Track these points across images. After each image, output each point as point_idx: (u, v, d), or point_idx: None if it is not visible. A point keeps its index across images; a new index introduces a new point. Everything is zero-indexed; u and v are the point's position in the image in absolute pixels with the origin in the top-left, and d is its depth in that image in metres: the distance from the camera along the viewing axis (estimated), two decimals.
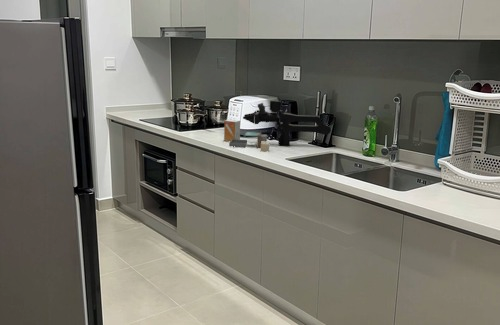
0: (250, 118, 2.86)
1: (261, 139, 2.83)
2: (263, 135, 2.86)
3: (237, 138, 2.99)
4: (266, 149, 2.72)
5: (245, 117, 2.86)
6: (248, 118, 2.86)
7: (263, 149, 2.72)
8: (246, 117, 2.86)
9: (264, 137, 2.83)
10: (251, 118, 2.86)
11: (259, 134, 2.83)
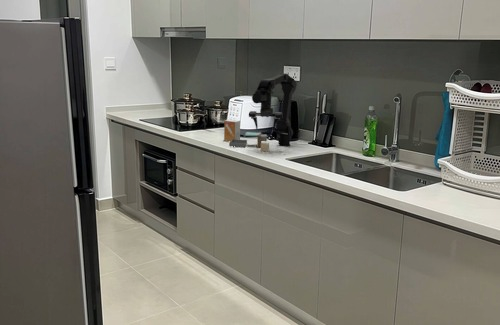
0: (275, 122, 2.71)
1: (261, 139, 2.83)
2: (263, 135, 2.86)
3: (237, 138, 2.99)
4: (266, 149, 2.72)
5: (274, 127, 2.71)
6: (275, 124, 2.71)
7: (263, 149, 2.72)
8: (274, 126, 2.71)
9: (264, 137, 2.83)
10: None
11: (259, 134, 2.83)
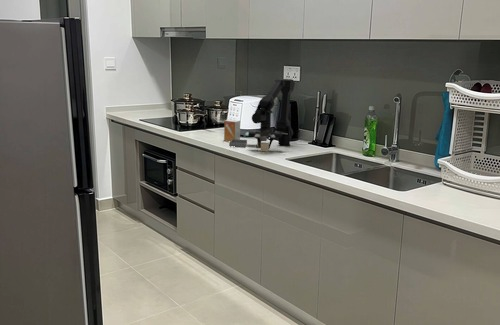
0: (271, 140, 2.73)
1: (261, 139, 2.83)
2: None
3: (237, 138, 2.99)
4: (266, 149, 2.72)
5: None
6: (271, 142, 2.74)
7: (263, 149, 2.72)
8: (270, 145, 2.74)
9: (264, 137, 2.83)
10: None
11: None
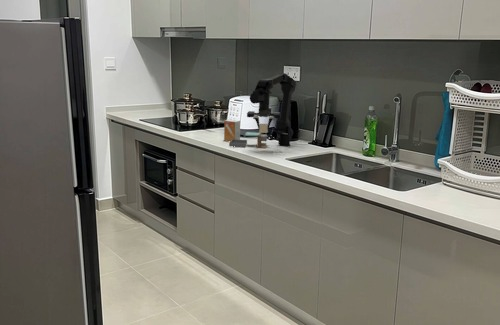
0: None
1: (261, 139, 2.83)
2: (263, 135, 2.86)
3: (237, 138, 2.99)
4: (265, 130, 2.70)
5: None
6: None
7: (262, 130, 2.70)
8: None
9: (264, 137, 2.83)
10: None
11: (259, 134, 2.83)
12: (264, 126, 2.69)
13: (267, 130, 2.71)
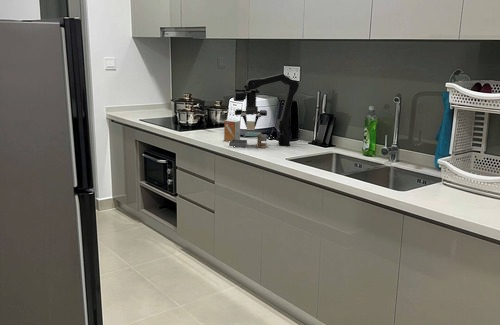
0: (257, 119, 2.84)
1: (261, 139, 2.83)
2: (263, 135, 2.86)
3: (237, 138, 2.99)
4: (252, 127, 2.83)
5: (255, 124, 2.85)
6: (256, 121, 2.85)
7: (249, 127, 2.83)
8: None
9: (264, 137, 2.83)
10: None
11: (259, 134, 2.83)
12: (251, 123, 2.83)
13: (254, 127, 2.85)
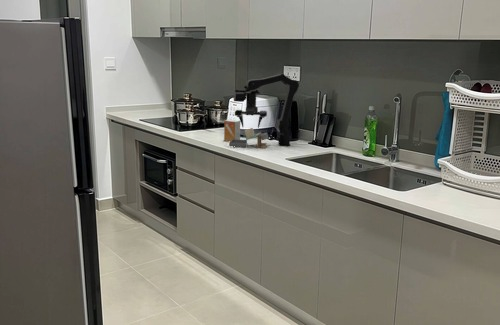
0: (260, 120, 2.84)
1: (262, 138, 2.83)
2: (263, 134, 2.86)
3: (237, 138, 2.99)
4: (251, 134, 2.84)
5: None
6: None
7: (248, 135, 2.84)
8: (259, 124, 2.85)
9: (264, 135, 2.82)
10: None
11: (259, 134, 2.83)
12: (249, 131, 2.84)
13: (253, 133, 2.85)
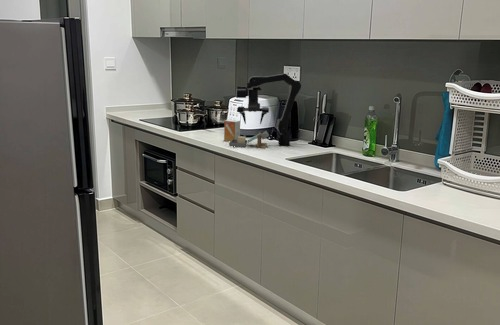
0: (262, 116, 2.87)
1: (263, 137, 2.83)
2: (263, 133, 2.85)
3: None
4: (242, 139, 2.85)
5: (261, 121, 2.87)
6: (262, 118, 2.87)
7: (242, 142, 2.86)
8: None
9: (264, 134, 2.82)
10: None
11: (258, 134, 2.83)
12: (238, 140, 2.86)
13: (243, 137, 2.86)
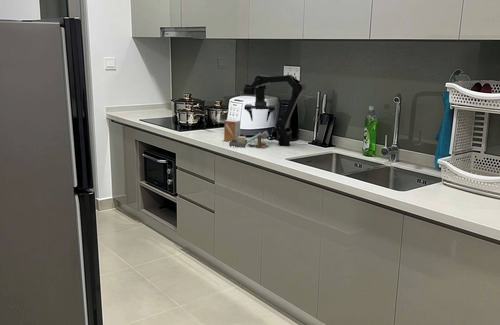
0: None
1: (263, 137, 2.83)
2: (263, 133, 2.85)
3: None
4: (242, 139, 2.85)
5: None
6: None
7: (242, 142, 2.86)
8: None
9: (264, 134, 2.82)
10: None
11: (258, 134, 2.83)
12: (238, 140, 2.86)
13: (243, 137, 2.86)
